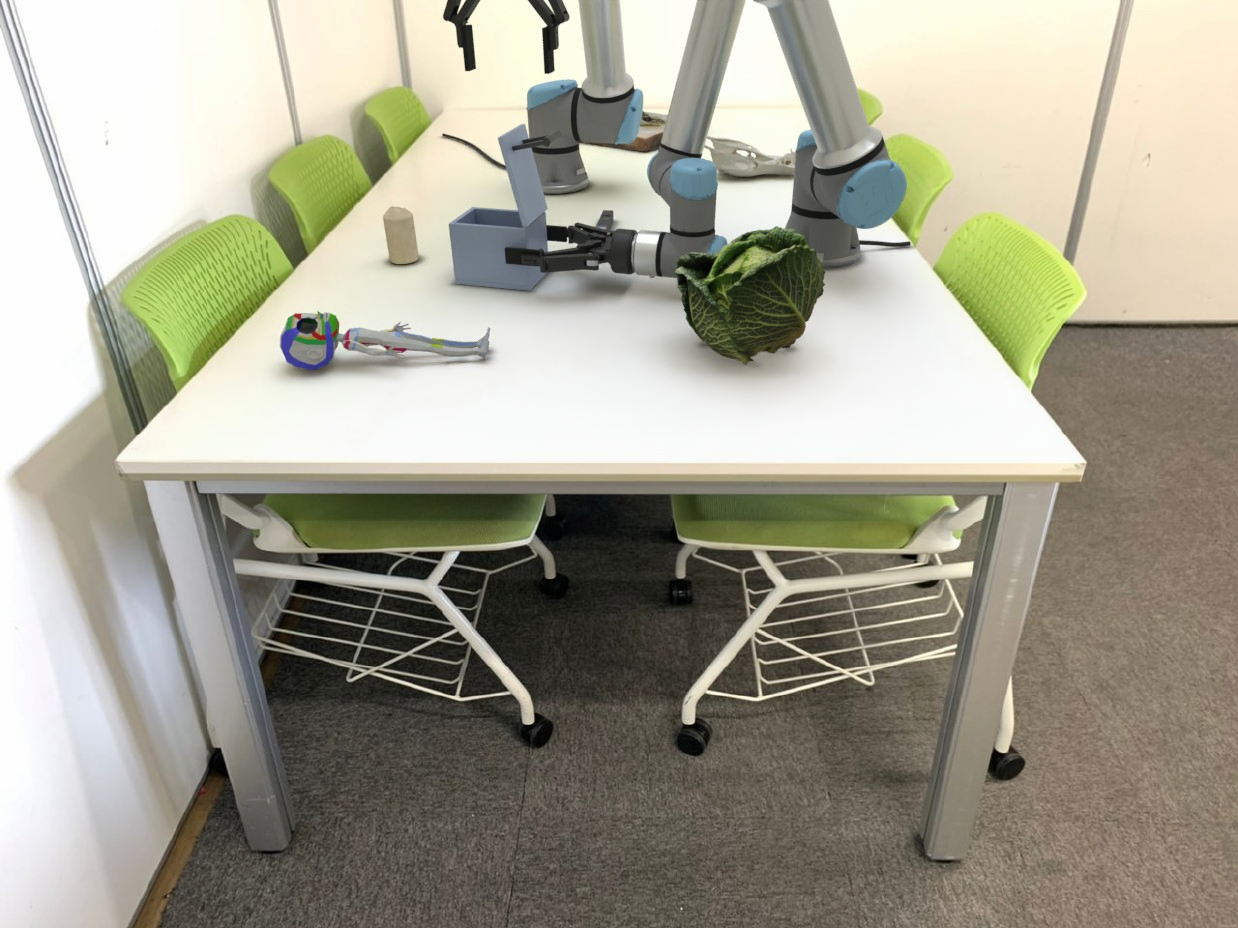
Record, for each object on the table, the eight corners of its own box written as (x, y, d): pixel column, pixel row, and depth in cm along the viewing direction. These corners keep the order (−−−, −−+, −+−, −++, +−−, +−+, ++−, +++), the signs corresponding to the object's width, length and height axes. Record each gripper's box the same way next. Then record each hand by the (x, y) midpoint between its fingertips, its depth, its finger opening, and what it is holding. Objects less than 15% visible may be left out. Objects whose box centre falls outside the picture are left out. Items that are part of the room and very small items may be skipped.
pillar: (613, 210, 190) (600, 241, 173) (613, 220, 191) (600, 251, 174) (603, 210, 190) (589, 240, 173) (603, 220, 191) (589, 251, 174)
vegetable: (709, 376, 144) (648, 269, 136) (807, 309, 145) (751, 199, 137) (761, 404, 125) (693, 282, 118) (872, 327, 127) (812, 201, 119)
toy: (489, 339, 129) (271, 322, 124) (486, 391, 133) (275, 376, 129) (491, 312, 137) (286, 295, 133) (487, 362, 142) (290, 347, 137)
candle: (424, 256, 173) (417, 204, 168) (409, 265, 169) (401, 213, 164) (399, 253, 175) (391, 202, 170) (384, 262, 171) (375, 210, 165)
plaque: (647, 125, 237) (559, 112, 252) (647, 153, 241) (560, 139, 256) (706, 107, 258) (622, 97, 273) (705, 133, 262) (622, 121, 277)
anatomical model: (699, 130, 225) (800, 129, 221) (699, 167, 229) (797, 167, 226) (694, 144, 212) (801, 143, 208) (694, 183, 217) (798, 183, 213)
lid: (497, 137, 145) (541, 128, 142) (520, 124, 153) (562, 115, 150) (522, 227, 152) (565, 220, 149) (543, 209, 160) (583, 202, 157)
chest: (455, 284, 161) (448, 223, 155) (478, 264, 170) (472, 206, 164) (529, 291, 158) (525, 229, 152) (549, 271, 166) (545, 212, 160)
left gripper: (410, -82, 133) (428, 72, 144) (570, -84, 127) (576, 77, 138) (432, -83, 139) (448, 65, 150) (586, -85, 133) (590, 69, 144)
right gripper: (617, 299, 146) (495, 288, 151) (653, 250, 166) (544, 242, 171) (616, 254, 142) (491, 244, 147) (653, 210, 162) (542, 202, 167)
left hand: (509, 71), depth 144 cm, fingers open, 13 cm apart
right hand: (519, 243), depth 159 cm, fingers open, 12 cm apart
